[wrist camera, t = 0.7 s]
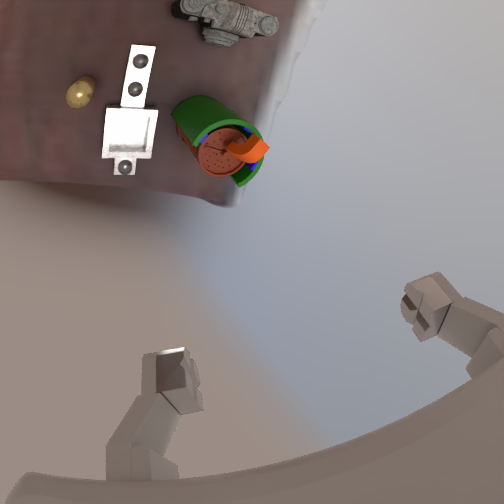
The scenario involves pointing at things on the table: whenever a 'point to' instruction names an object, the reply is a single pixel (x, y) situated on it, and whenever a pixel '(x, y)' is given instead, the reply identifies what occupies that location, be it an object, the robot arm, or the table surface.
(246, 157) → the motor
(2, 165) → the table surface
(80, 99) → the link pin
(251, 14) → the camera
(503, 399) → the robot arm
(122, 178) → the table surface
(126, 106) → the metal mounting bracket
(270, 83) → the table surface
